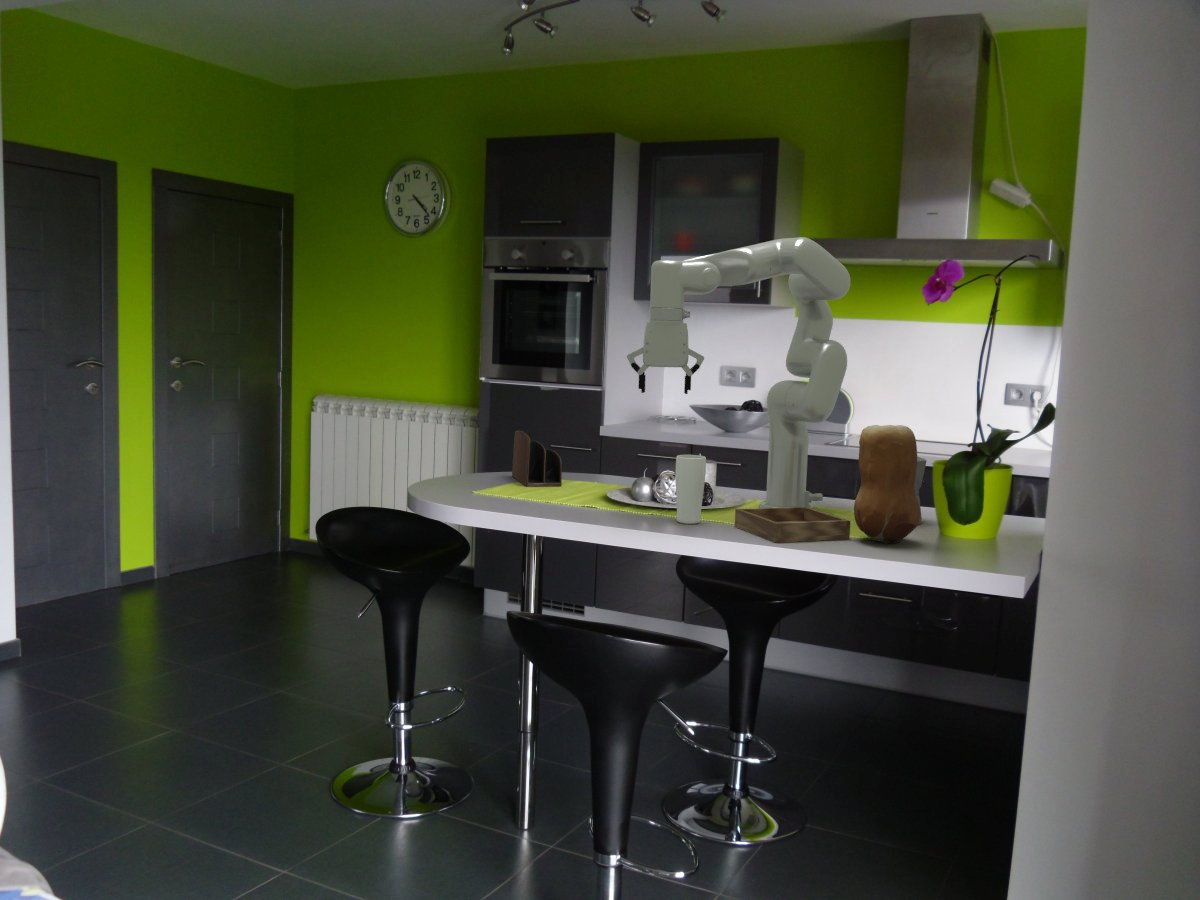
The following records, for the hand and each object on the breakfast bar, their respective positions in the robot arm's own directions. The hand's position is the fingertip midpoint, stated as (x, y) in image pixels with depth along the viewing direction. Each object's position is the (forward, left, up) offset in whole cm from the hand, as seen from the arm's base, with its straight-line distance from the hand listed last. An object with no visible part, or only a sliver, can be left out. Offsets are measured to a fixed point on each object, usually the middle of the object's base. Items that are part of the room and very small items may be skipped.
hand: (664, 393), depth 244 cm
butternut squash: (-37, +34, -29) cm, 58 cm away
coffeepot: (-55, +15, -29) cm, 64 cm away
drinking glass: (-5, +5, -29) cm, 30 cm away
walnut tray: (-22, +21, -29) cm, 42 cm away
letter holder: (+10, -61, -29) cm, 69 cm away
